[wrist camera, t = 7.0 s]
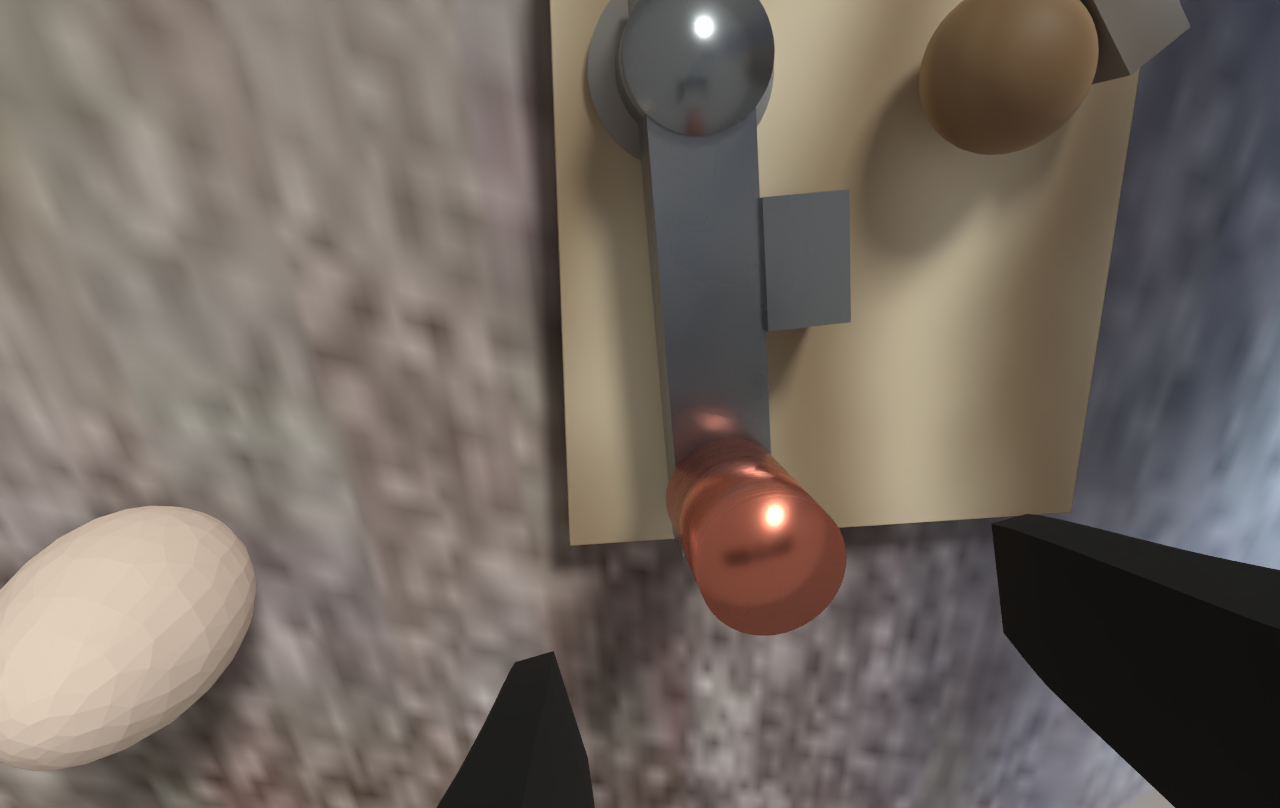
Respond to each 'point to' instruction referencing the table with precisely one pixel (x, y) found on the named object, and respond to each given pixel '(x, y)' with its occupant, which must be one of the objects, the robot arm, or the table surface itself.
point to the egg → (117, 633)
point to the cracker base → (874, 253)
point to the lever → (730, 306)
